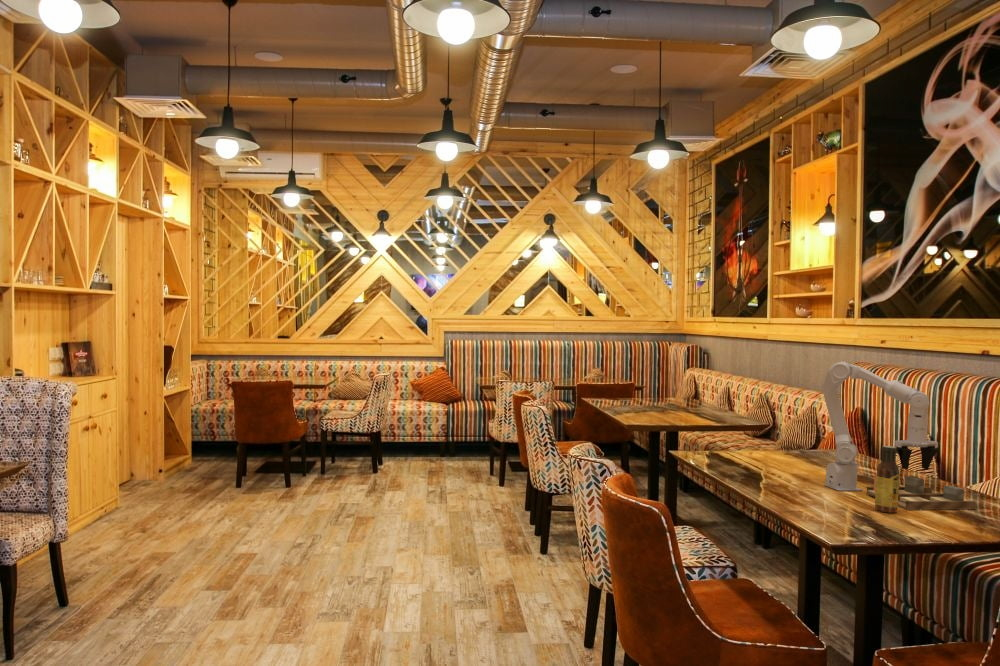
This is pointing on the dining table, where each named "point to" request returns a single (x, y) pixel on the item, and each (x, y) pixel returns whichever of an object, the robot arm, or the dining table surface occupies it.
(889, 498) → the sauce bottle
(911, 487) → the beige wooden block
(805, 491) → the dining table surface
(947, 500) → the lane board
